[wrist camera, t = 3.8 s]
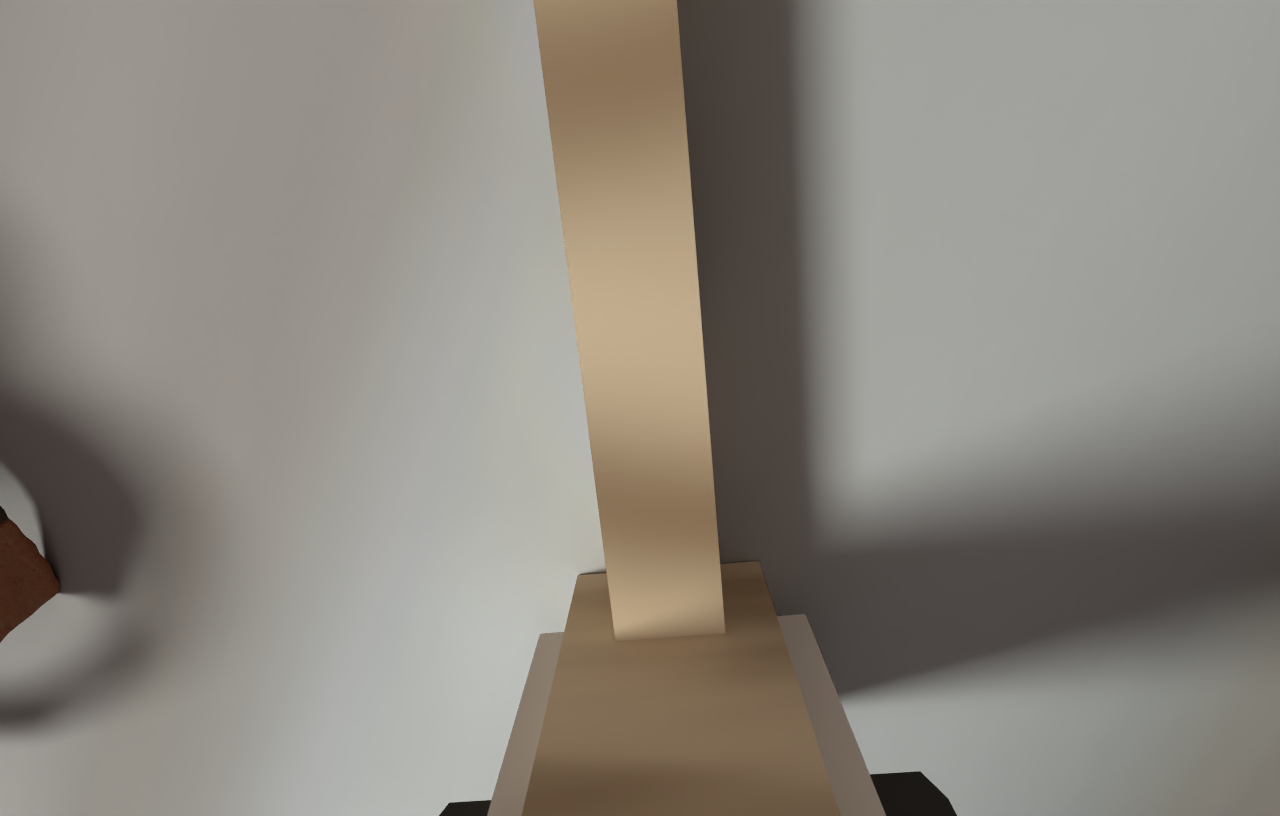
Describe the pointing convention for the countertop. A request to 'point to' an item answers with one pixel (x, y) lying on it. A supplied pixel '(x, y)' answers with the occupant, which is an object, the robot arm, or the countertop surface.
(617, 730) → the wooden mallet
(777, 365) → the countertop surface
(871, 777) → the robot arm
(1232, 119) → the countertop surface
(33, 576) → the pottery mug
